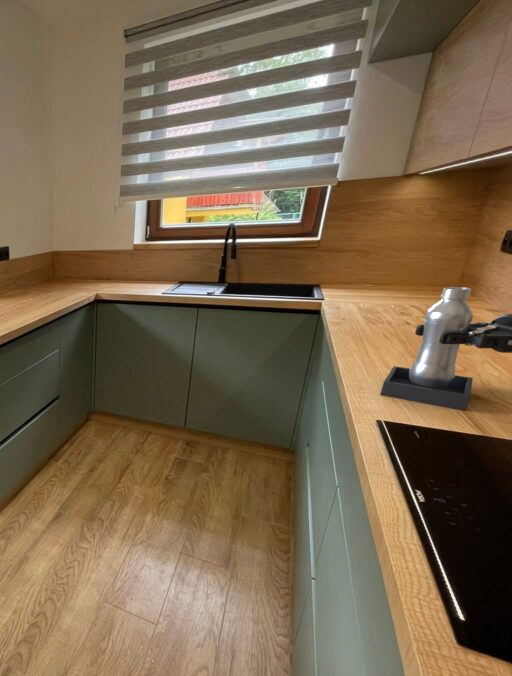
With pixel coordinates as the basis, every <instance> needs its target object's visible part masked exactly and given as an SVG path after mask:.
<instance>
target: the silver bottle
mask: <svg viewBox="0 0 512 676" xmlns="http://www.w3.org/2000/svg"><path fill="white" fill-rule="evenodd" d="M471 292H472V288H470V287H463V286H445V287H444V288H443V290H442V291H441V294H440V298H441V300H439V301H438V302H437V303H435V304H433V305H432V306H431V307H430V308H428V310H427V311H426V312H425V314H424V321H423V322H424V323H423V325H424V333H423V336H421V339H422V340H421V342H420V346H419V349H418V351H417V354H416V357H415V359H414V361H413V362H412V364H411V366H410V367H409V368H410V370H409V378H410V380H411V381H412V382H413V383H415V384H418V385H422V386H428V387H446V386H448V385H449V384H451V382H452V380H453V379H454V377H455V375H456V363H457V357H458V352H459V348H460V346H461V344H441V343H439V340H440V337H441V334H442V333H444V332H466V330H467V328H468V327H469V325H470V322H473V318H474V313H473V311H472V308H471V307H470V305H469V304H468V302H467V300H469V299H470V298H471V296H470V295H471Z"/></svg>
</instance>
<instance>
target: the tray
mask: <svg viewBox="0 0 512 676" xmlns="http://www.w3.org/2000/svg"><path fill="white" fill-rule="evenodd" d="M410 368H411V367H402V366H395V365H393V366H392V368H391V369H390V371H389V372H388V375H386V377H385V379H384V380H383V384H382V386H381V390H380V394H379V395H380V396H384V397H390V398H395V399H400V400H406V401H412V402H417V403H421V404H427V405H432V406H438V407H443V408H448V409H454V410H459V411H463V412H464V411H466V409H467V407H468V404H469V401H470V399H471V396H472V387H473V379H474V378H473V377H470V376H463V375H456V374H455V377H454V379H453V380H452V382H451V384H449V385H448V386H446V387H428V386H422V385H418V384H415V383H413V382H412V381H411V380H410V378H409V370H410Z"/></svg>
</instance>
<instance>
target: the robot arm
mask: <svg viewBox="0 0 512 676" xmlns="http://www.w3.org/2000/svg"><path fill="white" fill-rule="evenodd" d="M423 333H424V324H418V325H417V326H416V329H415V333H414V334H415V335H416V336H417V337H423ZM439 343H441V344H460V345H464V346H467V347H471V346H472V347H473V346H474V347H475V348H477V349H492V350H493V351H494V352H497V353H501V354H512V313H506V314H501V315H499V316H497V317H495V318H494V319H493V320H492V321H491V322H487V321H475V322H473V321H471V322H470V325H469V327H468V328H467V330H466V332H444V333H442V334H441V337H440V340H439Z"/></svg>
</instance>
